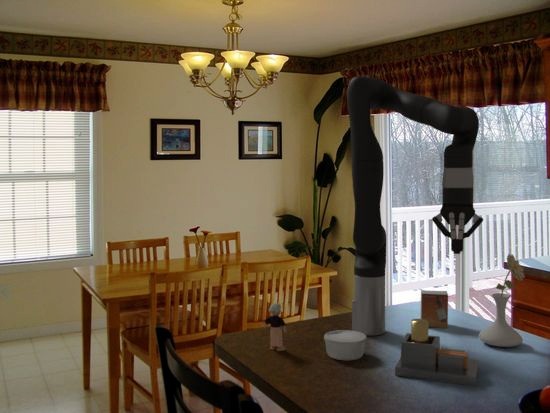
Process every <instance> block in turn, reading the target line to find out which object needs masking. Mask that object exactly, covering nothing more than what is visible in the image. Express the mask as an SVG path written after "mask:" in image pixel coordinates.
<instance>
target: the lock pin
mask: <svg viewBox="0 0 550 413" xmlns="http://www.w3.org/2000/svg"><path fill="white" fill-rule="evenodd" d="M439 354H443V355H452V356H461V357H463V369H467V365H468V359H469V358H468V356H469V353H468V352H467V351H465V352H459V351H450V350H441V348H440V349H438V350H437V365H438V355H439Z"/></svg>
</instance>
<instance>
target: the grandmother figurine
mask: <svg viewBox="0 0 550 413" xmlns="http://www.w3.org/2000/svg"><path fill="white" fill-rule="evenodd" d="M281 310H282V305H281V303H279V302H274V303H272V304H271V305H270V307H269V309H268V311H269V313H271V315H269V316H268V317H266V319H265V320H264V324H263V326H262V327H263V328H264V329H265V328H267V327H268V325H270V331H269V332H270V333H269V340H270V347H269V350H270V351H271V350H272V351H274V350H276V351H277V352H282V351H286V350H287V349H286V347H285V346H284V344H283V343H284V342H283V333H284V334H286V333H287V332H288V330H287V325H286V322H285V320H284V319H283V317H281V316H280V314H281ZM282 330H283V331H282Z"/></svg>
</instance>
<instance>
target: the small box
mask: <svg viewBox="0 0 550 413" xmlns="http://www.w3.org/2000/svg"><path fill="white" fill-rule="evenodd" d="M448 316H449V294H448V291H447V290H427V289H426V290H425V289H421V290H420V318H419V319H425V320H428V328H440V329H448V323H449V322H448V321H449V319H448V318H449V317H448Z"/></svg>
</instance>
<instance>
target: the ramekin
mask: <svg viewBox="0 0 550 413" xmlns="http://www.w3.org/2000/svg"><path fill="white" fill-rule="evenodd" d="M323 340H324V342H325V343H324V344H325V349H326V353H327V355H328V356H329V357H330V358H331V359H334V360H338V361H356V360H359V359H361V358H362V357H363V355H364V354H365V349H366V342H367V341H368V340H367V335H365V334H363V333H361V332H357V331H352V330H348V329H347V330H346V329H341V330H340V329H338V330H332V331H327V332H326V333H325V334H324V336H323Z"/></svg>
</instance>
